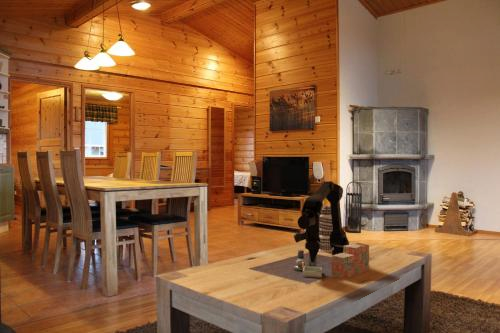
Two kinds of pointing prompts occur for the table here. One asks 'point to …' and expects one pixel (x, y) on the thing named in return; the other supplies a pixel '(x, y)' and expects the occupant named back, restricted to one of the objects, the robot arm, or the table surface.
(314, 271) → the tray
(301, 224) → the robot arm
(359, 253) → the stack of blocks
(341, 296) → the table surface
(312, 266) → the dark metal cylinder
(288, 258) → the table surface
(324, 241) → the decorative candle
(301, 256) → the crank
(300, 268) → the crank base
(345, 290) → the table surface
